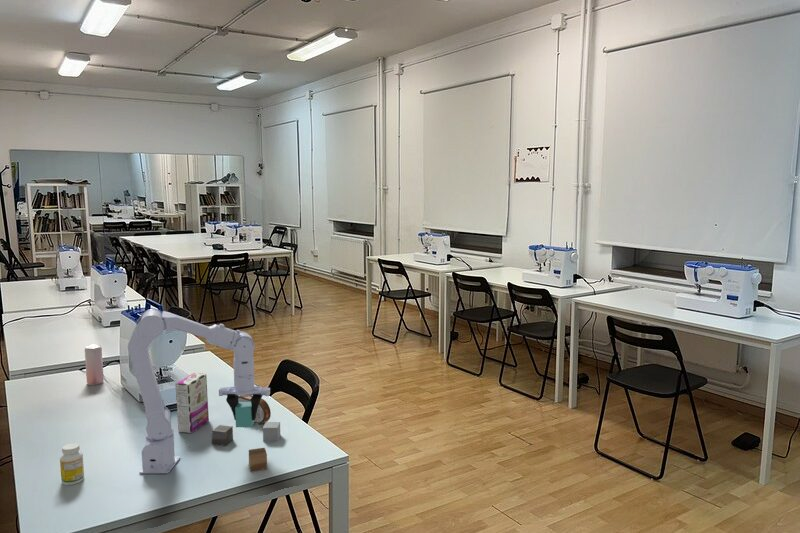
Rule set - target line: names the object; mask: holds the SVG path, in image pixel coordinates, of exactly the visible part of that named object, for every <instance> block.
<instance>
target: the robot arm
mask: <svg viewBox="0 0 800 533" xmlns="http://www.w3.org/2000/svg"><path fill="white" fill-rule="evenodd" d="M164 331H165V334H169V333H174V332H175V331H179V332H183V333H186V334H190V335H194V336H197V337H201V338H204V339H205V340H206V343H207V344H208V345H209V344H210V345H212V346H216V347H219V348H222V349H225V350H228V351H233V360H232V361H233V386H226V387H219V388H218V397H223V396H226V398H225V400H226V403H227V404H228V406H229V407H230V409H231V412H232V415H233V418H234V421H236V416H235V407H236V406H237V404H238V399H239V396H244V395H252V396H253V397H252V398H251V405H252V420H255V419H256V414H257V409H258V406H259V403H260V400H261V398H262V399H263V396H264V397H269V396H270V394H271V387H264V386H256V385H255V362H254V361H255V358H254V352H255V348H256V345H255V342H254V340H253V337H252V336H251V335H250V334H249V333H248V332H246V331H245V330H242V331H241V330H239V329H236V330H234V329H232V328H228V327H225V324H223V323H219V324H217V323H216V324H213V325H210V326H208V325H206V324H205V325H204V324H203V323H200V322H197V321H194V320H191V319H188V318H186V317H184V316H180V315H178V314H175V313H172V312H170V311H166V310H165V311H164V310H162V311H161V310H159V309H158V308H150V309H147V310H145V311H144V312H143V313H142V314H141V315H140V316H139V318H138V319H137V321H136V323H135V325H134V328H133V330H132V333H131V336H130V338H129V340H128V343H127V351H128V356H129V358H130V361H131V365H132V368H133V372H134V374H135V379H136V382H137V385H138V388H139V391H140V395H141V398H142V402H143V405H144V411H145V416H146V421H147V422H146V424H147V425H146V428H145V429H146V434H145V445H144V447H142V450H141V462H142V464H141V465H142V468H141V469H140V470H139V474H169V473H170V472H171V471H172V469H173V468H174V466H176V464H177V463H178V462H179V461H180V459H181V456H175V455H176V454H175V453H176V452H175V437H174V429H172V413H171V411H170V409H169V408H168V407H166V404H165V401H164V400H163V398H162V393H161V390H160V387H159V384H158V380H157V378H156V377H157V376H156V374H155V370H154V367H153V364H152V360H151V356H150V353H149V349H148V348H149V347H150V345H151V344H152V342H153V341H154V340H155V339H157V338H158V337H160V336H161V335H162V334H163V333H164Z"/></svg>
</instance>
